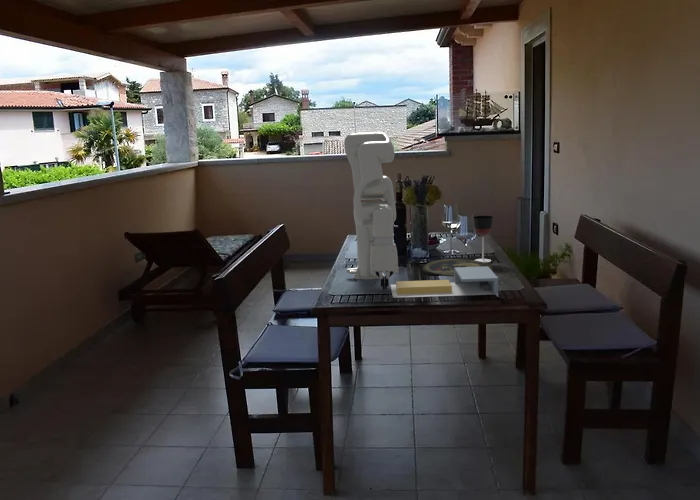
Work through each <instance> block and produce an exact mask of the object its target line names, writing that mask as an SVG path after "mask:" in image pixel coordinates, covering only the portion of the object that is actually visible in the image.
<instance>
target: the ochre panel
mask: <svg viewBox="0 0 700 500" xmlns="http://www.w3.org/2000/svg"><path fill="white" fill-rule="evenodd" d="M395 283H396V288H397V293H398V294H413V293H443V292H452V285H451V283H452V282H450V280H449V279H436V280H435V279H429V280H427V279H426V280H403V281H395Z"/></svg>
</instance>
